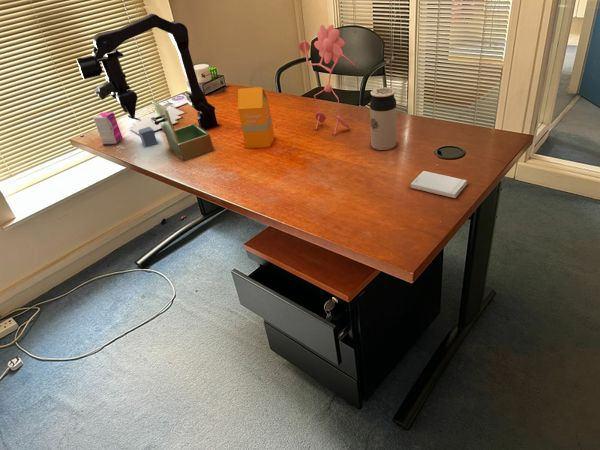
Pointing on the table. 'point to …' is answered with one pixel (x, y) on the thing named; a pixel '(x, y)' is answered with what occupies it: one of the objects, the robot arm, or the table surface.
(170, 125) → the bin lid
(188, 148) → the waste bin
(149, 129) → the blue-grey block
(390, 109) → the travel mug
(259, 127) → the orange juice
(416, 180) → the hard drive
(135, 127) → the paper stack
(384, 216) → the table surface
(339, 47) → the figurine
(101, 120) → the supplement box
